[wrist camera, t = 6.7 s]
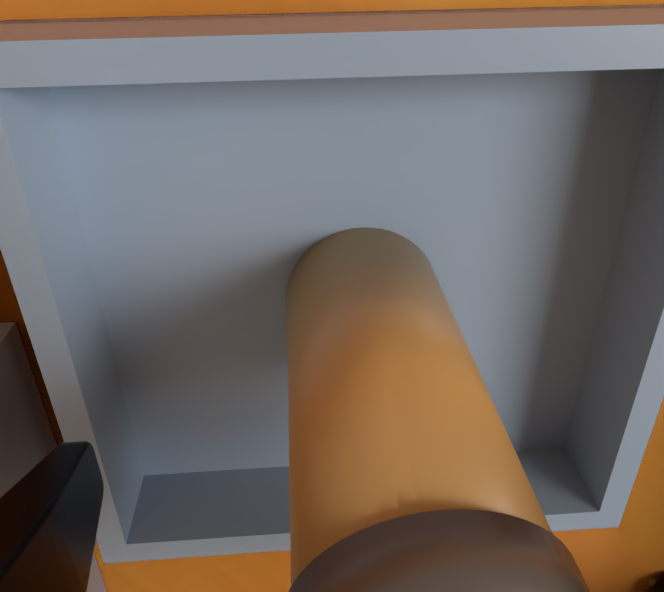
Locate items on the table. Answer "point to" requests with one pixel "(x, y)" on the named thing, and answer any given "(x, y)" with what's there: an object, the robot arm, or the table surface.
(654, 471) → the table surface
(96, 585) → the panel
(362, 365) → the cylinder
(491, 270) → the parts tray
